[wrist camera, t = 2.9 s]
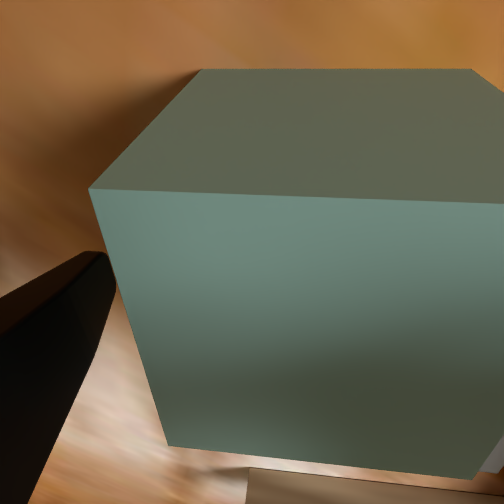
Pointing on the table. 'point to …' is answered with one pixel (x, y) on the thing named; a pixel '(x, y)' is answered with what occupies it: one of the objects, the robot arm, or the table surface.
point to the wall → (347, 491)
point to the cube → (319, 265)
